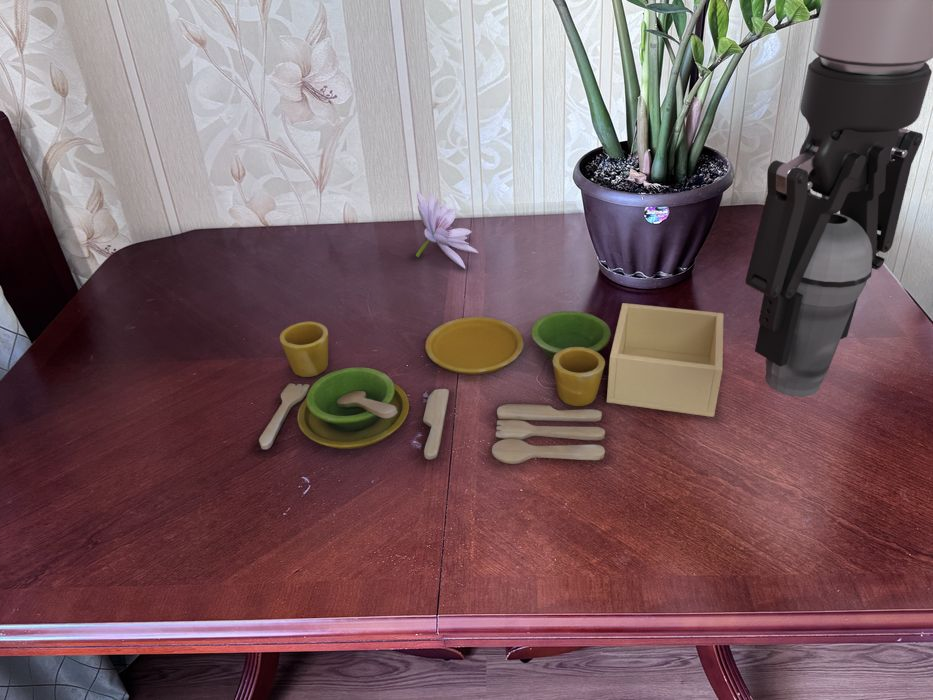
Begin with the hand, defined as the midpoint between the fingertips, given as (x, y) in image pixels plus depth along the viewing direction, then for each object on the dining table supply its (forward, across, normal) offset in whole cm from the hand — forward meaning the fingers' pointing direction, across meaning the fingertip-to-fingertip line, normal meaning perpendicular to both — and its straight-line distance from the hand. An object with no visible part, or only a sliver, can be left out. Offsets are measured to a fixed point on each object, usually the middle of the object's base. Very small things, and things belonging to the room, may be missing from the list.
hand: (801, 343), depth 62 cm
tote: (+18, -5, -20) cm, 28 cm away
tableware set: (+18, +18, -34) cm, 43 cm away
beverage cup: (+4, 0, 0) cm, 4 cm away
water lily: (+19, +2, -64) cm, 67 cm away
